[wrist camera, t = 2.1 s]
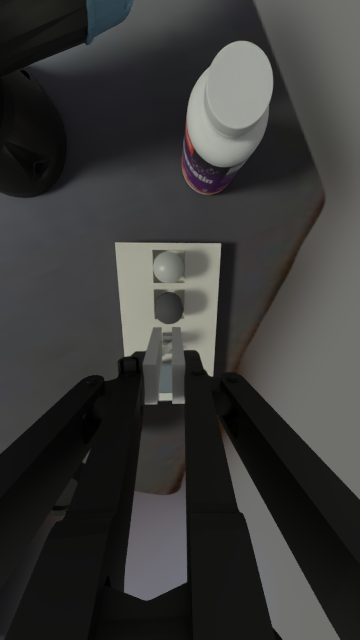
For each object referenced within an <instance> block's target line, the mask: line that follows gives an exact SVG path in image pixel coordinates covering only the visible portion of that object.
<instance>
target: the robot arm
mask: <svg viewBox="0 0 360 640" xmlns="http://www.w3.org/2000/svg"><path fill="white" fill-rule="evenodd" d="M132 4H133V0H0V192H1V193H3V194H6V195H9V196H13V197H22V198H24V197H33V196H36V195H39V194H41V193H43V192H45V191H46V190H48V189H49V188H50V187H51V186H52V185H53V184H54V183H55V182H56V180H57V179H58V177H59V176H60V174H61V171H62V169H63V166H64V162H65V156H66V140H65V133H64V128H63V125H62V122H61V119H60V116H59V114H58V112H57V110H56V108H55V106H54V104H53V102H52V101H51V99H50V98H49V96H48V95H47V94H46V92H45V91H44V90H43V88H42V87H41V86H40V84H39V83H38V82H37V81H36V79H35V78H34V77H33V76H32V75H31V74H30V73H29V72H28V71H27V70H26V69H25V68H24V67H25V66H28V65H30V64H32V63H35V62H37V61H40V60H42V59H45V58H47V57H50V56H52V55H55V54H57V53H60V52H62V51H65V50H67V49H70V48H73V47H75V46H78V45H80V44H83V43H85V44H86V45H89V44H91V42H92V41H93V39H94V37H96V36H97V35H99V34H101V33H103V32H105V31H106V30H108V29H110V28H112V27H114V26H116V25H118V24H120V23H121V22H123V21H124V20H125V19H126V17H127V16H128V14H129V12H130V10H131V7H132ZM161 363H162V327H153V329H152V333H151V337H150V340H149V344H148V347H147V351H136V352H134V353H133V354H132V355H131V356H126V357H123V358H121V359H119V361H118V371H119V375H118V378H116V379H113V380H109V381H104V378H103V377H102V376H99V375H92V376H88V377H86V378H84V379H82V380H81V381H80V382H79V383H78V384H76V385H75V386H74V387H73V388H72V389H71V390H70V391H69V392H68V393H67V394H66V395H64V396H63V397H62V398H61V399H60V400H59V401H58V402H57V403H56V404H55V405H54V406H52V407H51V408H50V409H49V410H48V411H47V412H46V413H45V414H44V415H43V416H42V417H40V418H39V419H38V420H37V421H36V422H35V423H34V424H33V425H32V426H31V427H30V428H28V429H27V430H26V431H25V432H24V433H23V434H22V435H21V436H20V437H19V438H18V439H16V440H15V441H14V442H13V443H12V444H11V445H10V446H9V447H8V448H7V449H6V450H4V451H3V452H2V453H1V454H0V589H1V587H2V586H3V584H4V583H5V581H6V580H7V578H8V576H9V575H10V573H11V572H12V570H13V569H14V567H15V565H16V564H17V563H18V561H19V559H20V558H21V556H22V555H23V553H24V552H25V550H26V549H27V547H28V545H29V544H30V542H31V541H32V539H33V538H34V536H35V534H36V533H37V531H38V530H39V528H40V527H41V525H42V524H43V522H44V520H45V519H46V517H47V516H48V514H49V513H50V511H51V510H52V508H53V507H54V505H55V503H56V502H57V500H58V499H59V497H60V496H61V494H62V493H63V491H64V489H65V488H66V486H67V485H68V483H69V482H70V480H71V478H72V477H73V475H74V474H75V472H76V471H77V469H78V468H79V466H80V464H81V463H82V461H83V460H84V458H85V457H86V455H87V454H88V452H89V450H90V449H91V450H90V452H89V455H88V457H87V460H86V463H85V465H84V468H83V471H82V473H81V476H80V479H79V481H78V484H77V487H76V489H75V492H74V495H73V497H72V500H71V503H70V505H69V508H68V511H67V513H66V515H65V517H64V518H63V520H61V521H58V522H56V523H55V525H54V526H53V527H52V529H51V531H50V533H49V535H48V537H47V539H46V541H45V543H44V546H43V548H42V551H41V553H40V555H39V558H38V560H37V563H36V565H35V567H34V570H33V573H32V575H31V577H30V580H29V582H28V584H27V587H26V589H25V592H24V594H23V597H22V599H21V601H20V604H19V606H18V608H17V611H16V613H15V616H14V618H13V621H12V623H11V625H10V628H9V630H8V633H7V635H6V638H5V640H282V638H281V637H280V636H279V634H278V633H277V632H276V631H275V630H274V628H272V624H271V620H270V616H269V612H268V608H267V604H266V599H265V596H264V591H263V587H262V583H261V579H260V575H259V571H258V567H257V563H256V559H255V555H254V551H253V547H252V543H251V539H250V534H249V530H248V527H247V523H246V520H245V518H244V515H243V513H241V512H239V510H238V507H237V503H236V499H235V494H234V490H233V485H232V481H231V476H230V472H229V467H228V463H227V458H226V454H225V449H224V445H223V441H222V436H221V431H220V427H219V422H218V418H217V415H218V417H219V420H220V422H221V424H222V425H223V427H224V429H225V431H226V433H227V435H228V436H229V438H230V440H231V442H232V444H233V446H234V447H235V449H236V451H237V453H238V455H239V456H240V458H241V460H242V462H243V464H244V466H245V467H246V469H247V471H248V473H249V475H250V477H251V478H252V480H253V482H254V484H255V486H256V487H257V489H258V491H259V493H260V495H261V497H262V498H263V500H264V502H265V504H266V506H267V508H268V510H269V511H270V513H271V515H272V517H273V519H274V520H275V522H276V524H277V526H278V528H279V529H280V531H281V533H282V535H283V537H284V539H285V540H286V542H287V544H288V546H289V548H290V550H291V551H292V553H293V555H294V557H295V559H296V561H297V563H298V564H299V566H300V568H301V570H302V572H303V573H304V575H305V577H306V579H307V581H308V583H309V584H310V586H311V588H312V590H313V592H314V594H315V595H316V597H317V599H318V601H319V603H320V604H321V606H322V608H323V610H324V612H325V613H326V615H327V617H328V619H329V621H330V622H331V624H332V626H333V627H334V629H335V631H336V633H337V634H338V636H339V638H340V640H360V500H359V499H358V497H357V496H356V495H355V494H354V493H353V492H352V491H351V490H350V489H349V488H348V487H347V486H346V485H345V484H344V483H343V482H342V481H341V480H340V478H339V477H338V476H337V475H336V474H335V473H334V472H333V471H332V470H331V469H330V468H329V467H328V466H327V465H326V464H325V463H324V462H323V461H322V460H321V458H320V457H318V455H317V454H316V453H315V452H314V451H313V450H312V449H311V448H310V447H309V446H308V445H307V444H306V443H305V442H304V441H303V440H302V439H301V437H300V436H299V435H298V434H297V433H296V432H295V431H294V430H293V429H292V428H291V427H290V426H289V425H288V424H287V423H286V422H285V421H284V420H283V419H282V417H280V415H279V414H278V413H277V412H276V411H275V410H274V409H273V408H272V407H271V406H270V405H269V404H268V403H267V402H266V401H265V400H264V399H263V398H262V396H261V395H260V394H259V393H258V392H257V391H256V390H255V389H254V388H253V387H252V386H251V385H250V384H249V383H248V382H247V381H246V380H245V379H244V378H243V377H242V376H241V375H239V374H237V373H233V372H227V373H224V374H222V375H221V378H215V377H212V376H209V375H208V373H207V371H206V370H205V369H204V368H203V365H202V362H201V358H200V355H199V353H198V352H197V351H196V350H183V343H182V335H181V327H172V404H185V419H184V420H185V464H186V525H187V526H186V527H187V583H184V584H182V585H181V586H178V587H177V588H174V589H172V590H170V591H168V592H166V593H164V594H162V595H160V596H158V597H156V598H154V599H152V600H148V601H145V600H141V599H139V598H136V597H134V596H131V595H129V594H126V593H124V576H125V564H126V555H127V547H128V538H129V530H130V522H131V514H132V505H133V497H134V489H135V481H136V472H137V464H138V456H139V447H140V439H141V430H142V422H143V414H144V399H145V404H157V402H158V392H159V382H160V373H161Z"/></svg>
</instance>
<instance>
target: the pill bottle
mask: <svg viewBox="0 0 360 640" xmlns="http://www.w3.org/2000/svg"><path fill="white" fill-rule="evenodd" d="M272 91H273V74H272V68H271V65H270V62H269V60H268V58H267V56H266V55H265V53H264V52H263V51H262V50H261V49H260V48H259V47H258V46H257V45H255V44H253V43H251V42H247V41H236V42H233V43H230V44H228V45H227V46H225V47H224V48H223V49H222V50H221V51H220V52H219V53H218V54H217V55H216V57H215V58H214V60H213V62H212V64H211V66H210V67H209V68H208V69H207V70H205V71H204V73H203V74H202V75H201V76H200V78H199V79H198V81H197V82H196V84H195V86H194V88H193V90H192V93H191V96H190V99H189V103H188V110H187V117H186V127H185V135H184V144H183V152H182V171H183V175H184V177H185V180H186V181H187V183H188V184H189V186H190V187H191V188H192V189H193V190H195V191H196V192H198V193H201V194H204V195H212V194H216V193H218V192H220V191H222V190H223V189H224V188H225V187H226V186H227V185H228V184H229V183H230V182H231V180H232V179H233V178H234V177H235V175H236V174H237V173H238V171H239V170H240V169H241V167H242V166H243V165H244V163H245V162H246V161H247V160H248V158H249V157H250V156H251V154H252V153H253V152H254V151H255V149H256V148H257V146H258V145H259V143H260V141H261V139H262V137H263V135H264V133H265V130H266V126H267V122H268V115H269V103H270V100H271V96H272Z"/></svg>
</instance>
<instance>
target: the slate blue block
mask: <svg viewBox="0 0 360 640" xmlns="http://www.w3.org/2000/svg"><path fill="white" fill-rule="evenodd" d="M158 401H172V363H161V373H160V382H159V392H158Z"/></svg>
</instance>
